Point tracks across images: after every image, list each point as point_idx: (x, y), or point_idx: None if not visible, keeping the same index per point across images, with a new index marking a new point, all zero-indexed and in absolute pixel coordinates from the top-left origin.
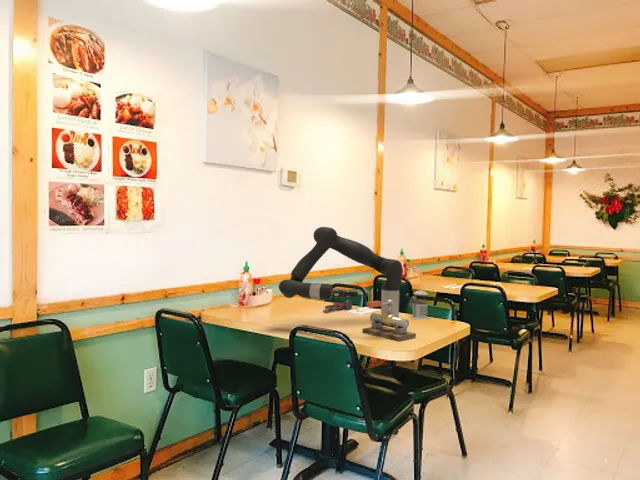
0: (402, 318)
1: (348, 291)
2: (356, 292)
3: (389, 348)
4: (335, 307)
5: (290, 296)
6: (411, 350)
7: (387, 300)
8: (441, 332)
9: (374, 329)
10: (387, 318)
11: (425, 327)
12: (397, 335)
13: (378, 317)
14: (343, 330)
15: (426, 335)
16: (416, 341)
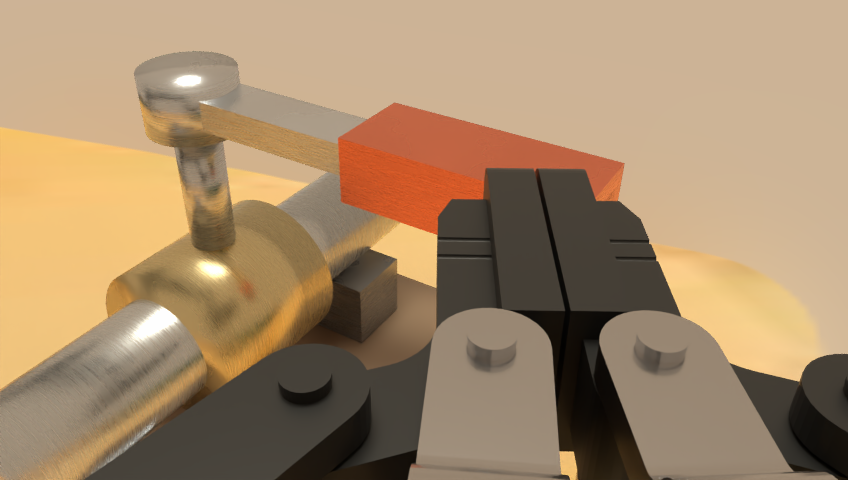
0: (328, 177)
1: (685, 322)
2: (580, 177)
3: (774, 368)
4: None
5: None
6: (712, 261)
7: (226, 83)
8: (63, 172)
9: None
10: (295, 281)
11: None
12: (428, 320)
13: (158, 382)
14: None
15: (183, 223)
16: (417, 255)
